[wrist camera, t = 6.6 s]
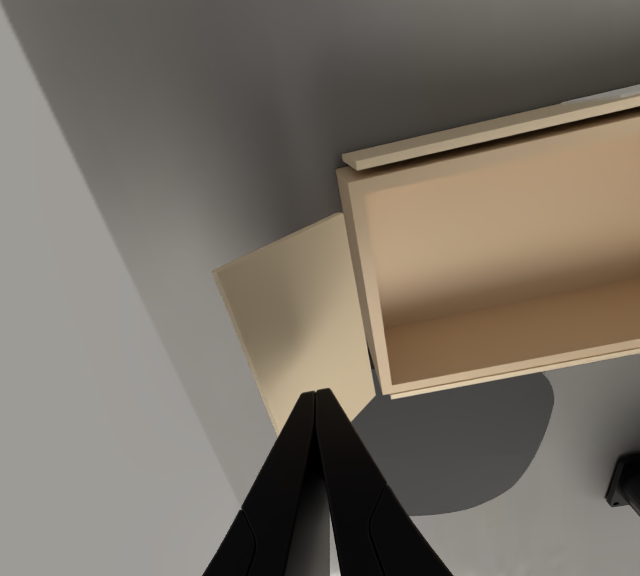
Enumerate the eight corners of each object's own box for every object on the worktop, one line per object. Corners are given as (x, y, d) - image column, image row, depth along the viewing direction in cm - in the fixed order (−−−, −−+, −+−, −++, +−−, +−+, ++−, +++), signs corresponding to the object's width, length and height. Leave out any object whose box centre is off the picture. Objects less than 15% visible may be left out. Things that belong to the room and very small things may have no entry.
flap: (375, 395, 14) (298, 479, 11) (370, 392, 14) (292, 474, 12) (343, 212, 10) (216, 272, 8) (336, 212, 11) (211, 271, 8)
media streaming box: (320, 483, 26) (322, 522, 24) (328, 341, 20) (332, 372, 17) (488, 479, 27) (508, 517, 25) (546, 341, 21) (582, 372, 18)
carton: (661, 285, 19) (772, 331, 14) (366, 343, 20) (384, 403, 15) (729, 61, 14) (931, 25, 9) (332, 153, 15) (344, 161, 10)
